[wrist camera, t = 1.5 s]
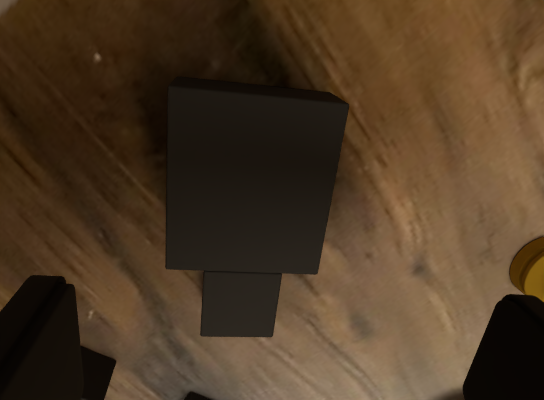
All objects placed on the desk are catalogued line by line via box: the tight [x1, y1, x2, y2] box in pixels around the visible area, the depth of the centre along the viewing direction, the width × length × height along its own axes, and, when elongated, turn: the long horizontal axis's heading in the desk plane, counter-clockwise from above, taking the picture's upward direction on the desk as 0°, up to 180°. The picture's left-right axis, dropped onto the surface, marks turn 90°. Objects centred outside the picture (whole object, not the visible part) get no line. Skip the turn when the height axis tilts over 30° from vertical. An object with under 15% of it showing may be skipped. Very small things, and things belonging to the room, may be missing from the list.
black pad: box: [165, 77, 349, 337], centre depth 19 cm, size 7×12×3 cm, turn 173°
